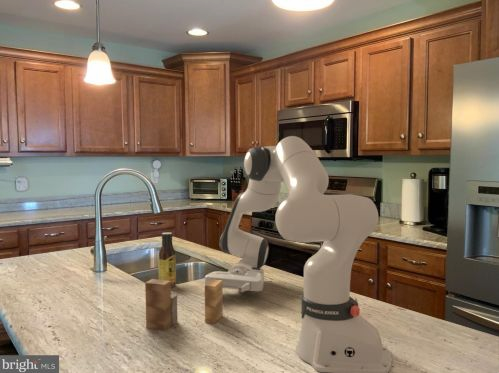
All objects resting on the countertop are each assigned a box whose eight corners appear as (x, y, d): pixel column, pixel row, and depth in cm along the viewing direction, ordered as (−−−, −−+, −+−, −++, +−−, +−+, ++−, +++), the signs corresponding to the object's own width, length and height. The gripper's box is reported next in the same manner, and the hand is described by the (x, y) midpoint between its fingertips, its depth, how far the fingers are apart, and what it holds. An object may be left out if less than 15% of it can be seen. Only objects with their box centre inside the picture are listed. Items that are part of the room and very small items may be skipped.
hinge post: (177, 321, 116) (176, 278, 115) (166, 330, 110) (166, 284, 109) (156, 318, 118) (155, 276, 117) (144, 327, 112) (143, 282, 111)
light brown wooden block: (222, 315, 121) (222, 280, 120) (215, 323, 115) (214, 286, 114) (212, 314, 122) (212, 279, 121) (205, 322, 116) (204, 285, 115)
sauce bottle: (172, 289, 145) (171, 235, 143) (156, 288, 146) (154, 234, 144) (178, 283, 151) (178, 231, 149) (163, 282, 152) (162, 231, 151)
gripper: (213, 265, 144) (196, 276, 131) (267, 269, 138) (256, 281, 125) (213, 282, 144) (197, 294, 131) (267, 287, 138) (256, 301, 125)
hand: (226, 288), depth 128 cm, fingers open, 8 cm apart
